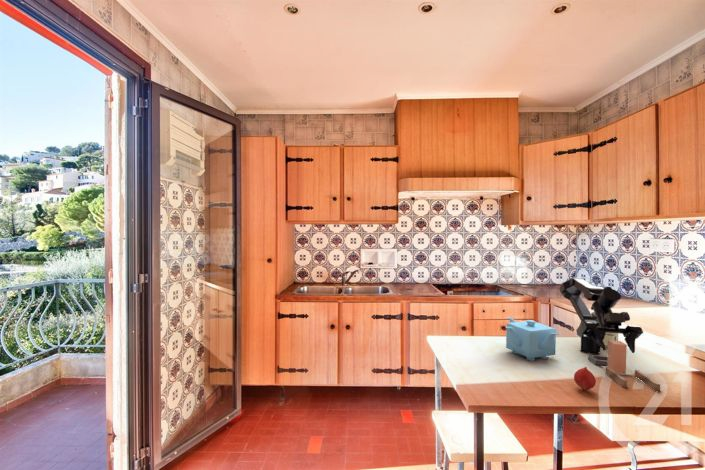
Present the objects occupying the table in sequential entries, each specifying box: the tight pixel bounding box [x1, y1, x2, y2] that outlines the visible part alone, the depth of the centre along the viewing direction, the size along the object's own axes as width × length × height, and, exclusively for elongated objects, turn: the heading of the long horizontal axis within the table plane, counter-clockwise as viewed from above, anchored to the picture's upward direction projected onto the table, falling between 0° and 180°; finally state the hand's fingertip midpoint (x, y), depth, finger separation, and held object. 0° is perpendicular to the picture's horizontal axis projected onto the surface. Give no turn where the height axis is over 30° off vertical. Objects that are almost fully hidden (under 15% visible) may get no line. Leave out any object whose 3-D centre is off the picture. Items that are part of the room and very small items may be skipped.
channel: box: [604, 367, 661, 393], centre depth 110 cm, size 11×10×2 cm
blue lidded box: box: [504, 316, 559, 362], centre depth 133 cm, size 19×19×15 cm
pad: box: [600, 366, 633, 377], centre depth 119 cm, size 6×7×1 cm
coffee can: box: [590, 311, 619, 349], centre depth 148 cm, size 10×10×14 cm
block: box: [607, 340, 628, 373], centre depth 119 cm, size 4×4×10 cm
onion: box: [573, 366, 597, 392], centre depth 104 cm, size 6×6×8 cm
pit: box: [587, 354, 608, 367], centre depth 126 cm, size 6×10×2 cm, turn 76°
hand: (619, 351), depth 117 cm, fingers open, 9 cm apart
